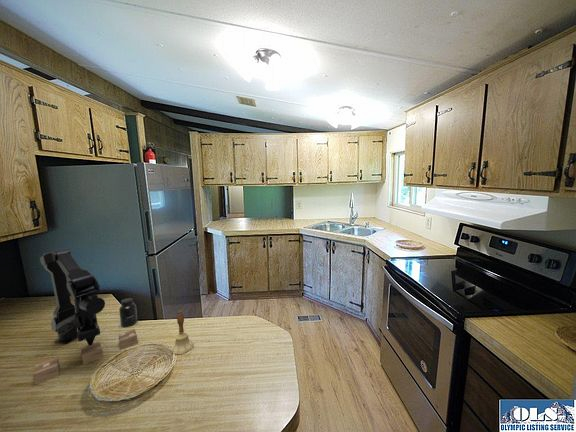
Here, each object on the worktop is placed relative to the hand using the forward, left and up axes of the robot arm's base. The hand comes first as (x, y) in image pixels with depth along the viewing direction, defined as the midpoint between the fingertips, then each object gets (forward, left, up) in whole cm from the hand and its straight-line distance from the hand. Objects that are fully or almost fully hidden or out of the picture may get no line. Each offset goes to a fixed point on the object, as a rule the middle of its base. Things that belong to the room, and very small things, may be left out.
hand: (90, 344), depth 95 cm
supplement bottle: (-4, +23, -5) cm, 24 cm away
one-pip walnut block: (-8, -10, -5) cm, 14 cm away
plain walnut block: (0, 0, -5) cm, 5 cm away
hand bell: (+33, +9, -6) cm, 35 cm away
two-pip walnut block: (+7, +9, -5) cm, 13 cm away
